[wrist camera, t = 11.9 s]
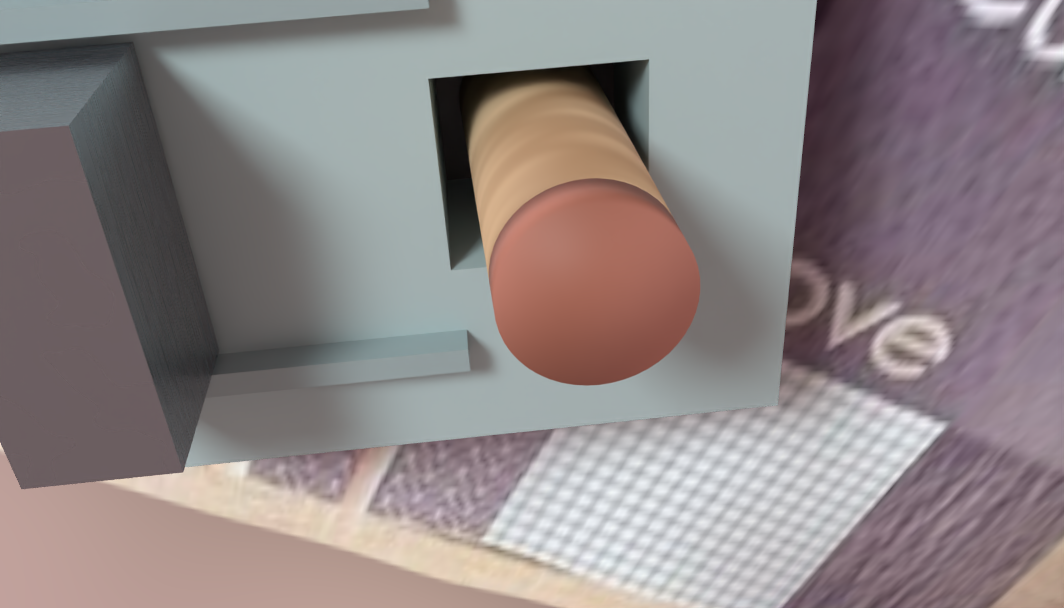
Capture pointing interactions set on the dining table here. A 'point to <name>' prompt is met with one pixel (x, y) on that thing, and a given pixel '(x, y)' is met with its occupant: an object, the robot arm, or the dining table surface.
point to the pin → (573, 229)
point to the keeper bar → (93, 276)
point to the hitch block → (444, 200)
